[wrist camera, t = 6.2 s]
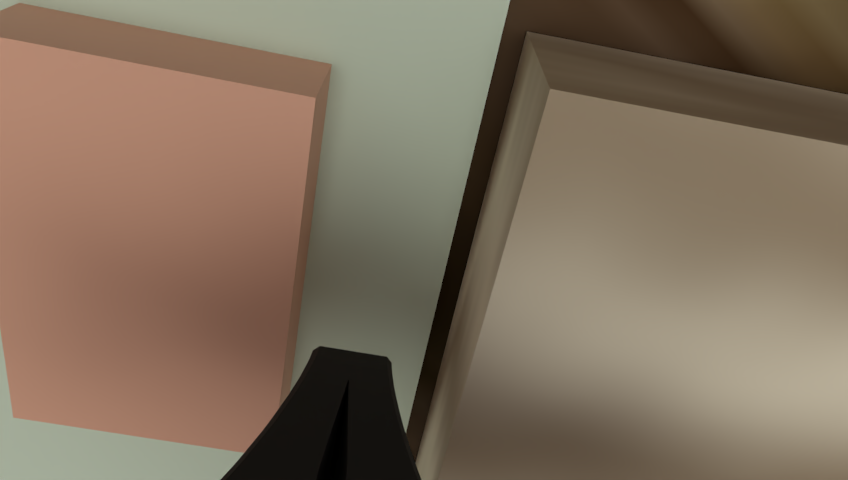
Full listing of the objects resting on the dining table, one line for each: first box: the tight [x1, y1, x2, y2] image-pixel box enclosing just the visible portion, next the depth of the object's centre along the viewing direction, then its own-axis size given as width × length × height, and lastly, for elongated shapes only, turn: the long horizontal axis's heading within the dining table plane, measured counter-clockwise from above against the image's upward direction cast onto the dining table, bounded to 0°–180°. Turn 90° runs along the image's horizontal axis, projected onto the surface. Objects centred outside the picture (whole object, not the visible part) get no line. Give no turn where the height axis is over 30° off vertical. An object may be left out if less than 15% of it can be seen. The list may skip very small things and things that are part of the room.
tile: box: [0, 3, 332, 453], centre depth 15 cm, size 9×6×2 cm, turn 169°
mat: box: [0, 0, 510, 480], centre depth 18 cm, size 24×14×1 cm, turn 169°
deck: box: [415, 31, 848, 480], centre depth 17 cm, size 16×11×4 cm
